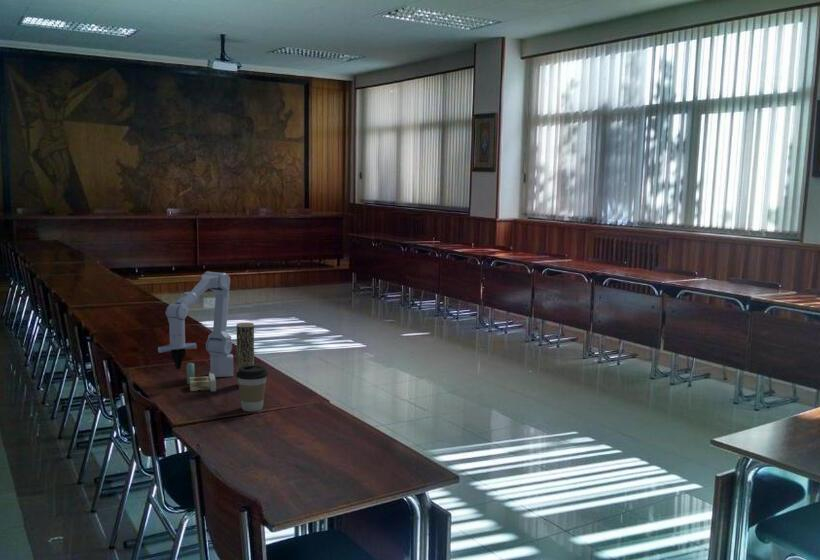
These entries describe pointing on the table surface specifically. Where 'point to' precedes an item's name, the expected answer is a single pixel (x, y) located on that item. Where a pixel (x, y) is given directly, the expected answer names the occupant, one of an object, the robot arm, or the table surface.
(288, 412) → the table surface
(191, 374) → the dowel
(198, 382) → the beige hollow square block
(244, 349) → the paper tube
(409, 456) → the table surface
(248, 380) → the coffee cup
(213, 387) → the wall
